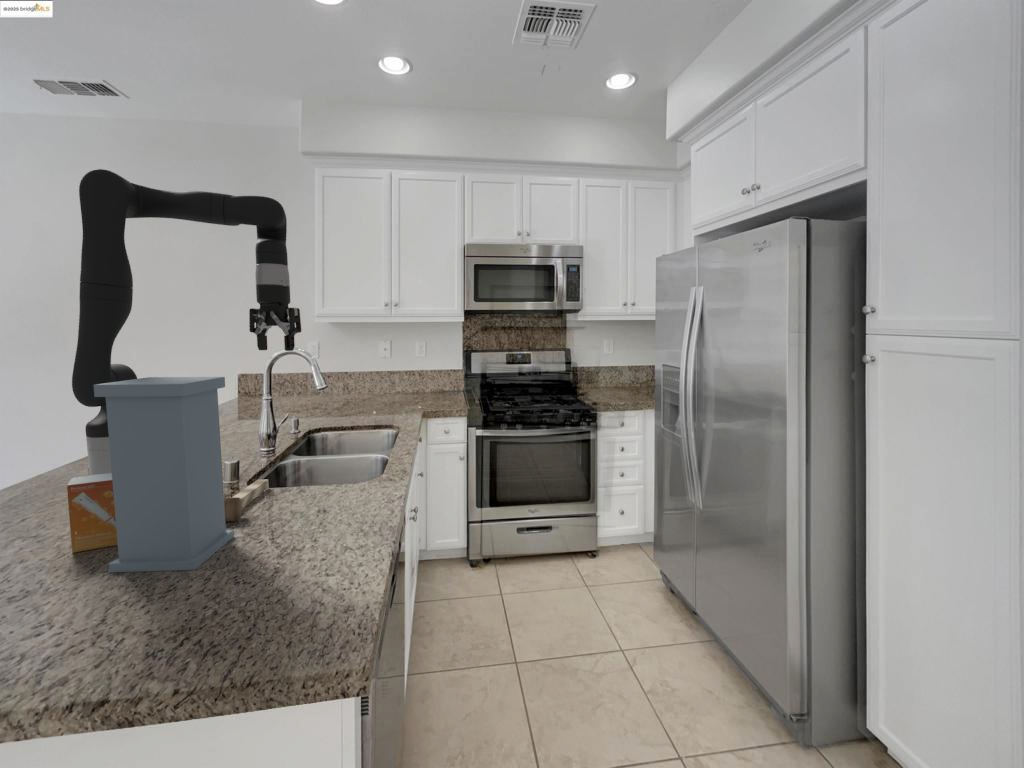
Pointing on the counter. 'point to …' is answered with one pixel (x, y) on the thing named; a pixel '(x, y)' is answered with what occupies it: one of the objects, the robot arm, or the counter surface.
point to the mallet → (243, 499)
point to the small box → (91, 512)
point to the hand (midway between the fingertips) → (276, 350)
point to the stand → (165, 471)
